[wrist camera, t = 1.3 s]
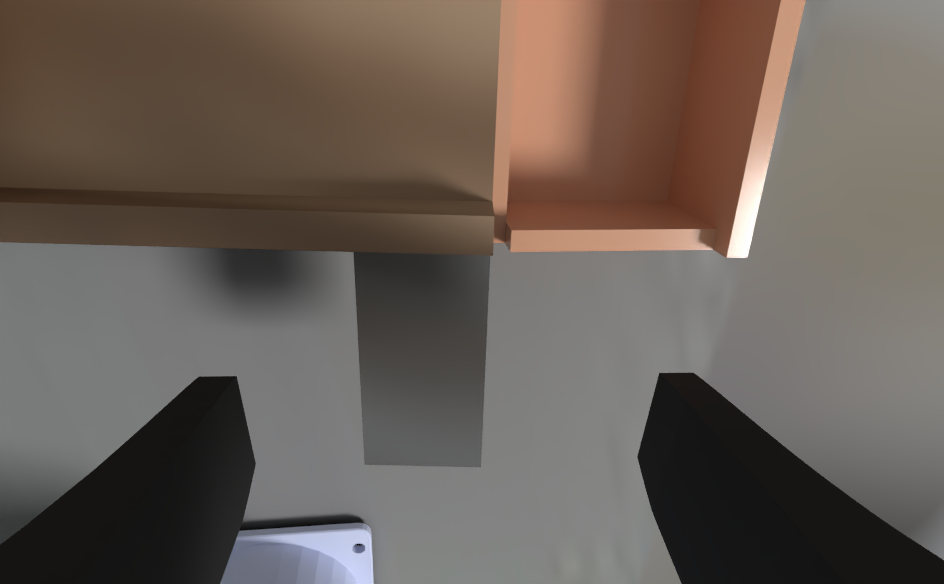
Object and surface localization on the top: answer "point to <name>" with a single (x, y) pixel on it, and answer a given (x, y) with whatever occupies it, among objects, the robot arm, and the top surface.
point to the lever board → (281, 165)
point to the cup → (637, 121)
